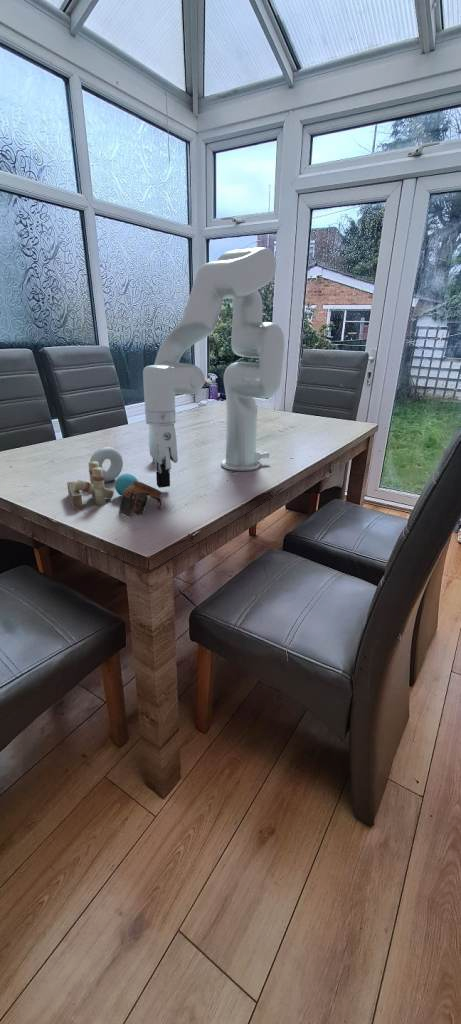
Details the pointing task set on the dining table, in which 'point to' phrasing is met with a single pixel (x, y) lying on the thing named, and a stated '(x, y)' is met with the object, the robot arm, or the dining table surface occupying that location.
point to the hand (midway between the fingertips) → (163, 486)
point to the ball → (124, 483)
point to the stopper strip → (74, 496)
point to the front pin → (92, 488)
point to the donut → (114, 458)
